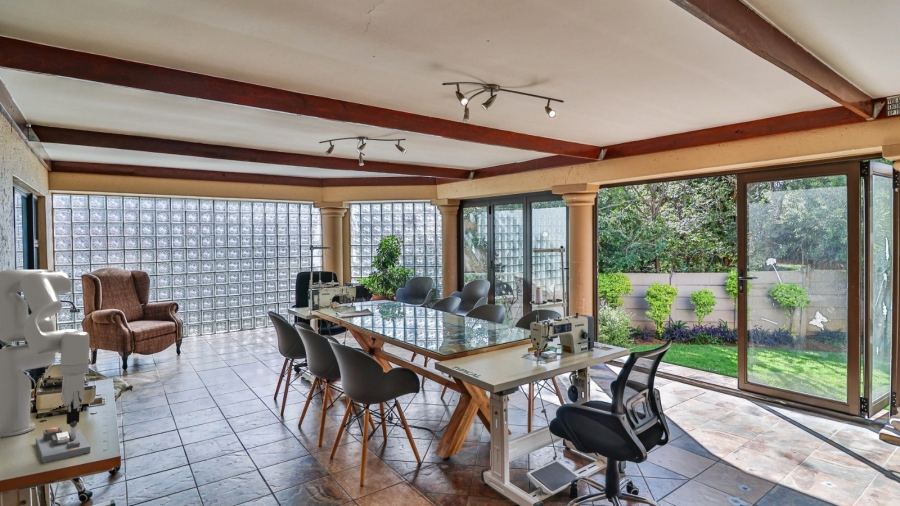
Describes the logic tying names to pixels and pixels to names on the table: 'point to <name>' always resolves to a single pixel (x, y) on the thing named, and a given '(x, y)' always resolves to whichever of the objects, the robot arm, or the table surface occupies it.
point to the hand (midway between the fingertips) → (72, 422)
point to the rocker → (62, 437)
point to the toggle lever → (73, 430)
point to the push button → (52, 429)
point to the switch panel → (61, 446)
